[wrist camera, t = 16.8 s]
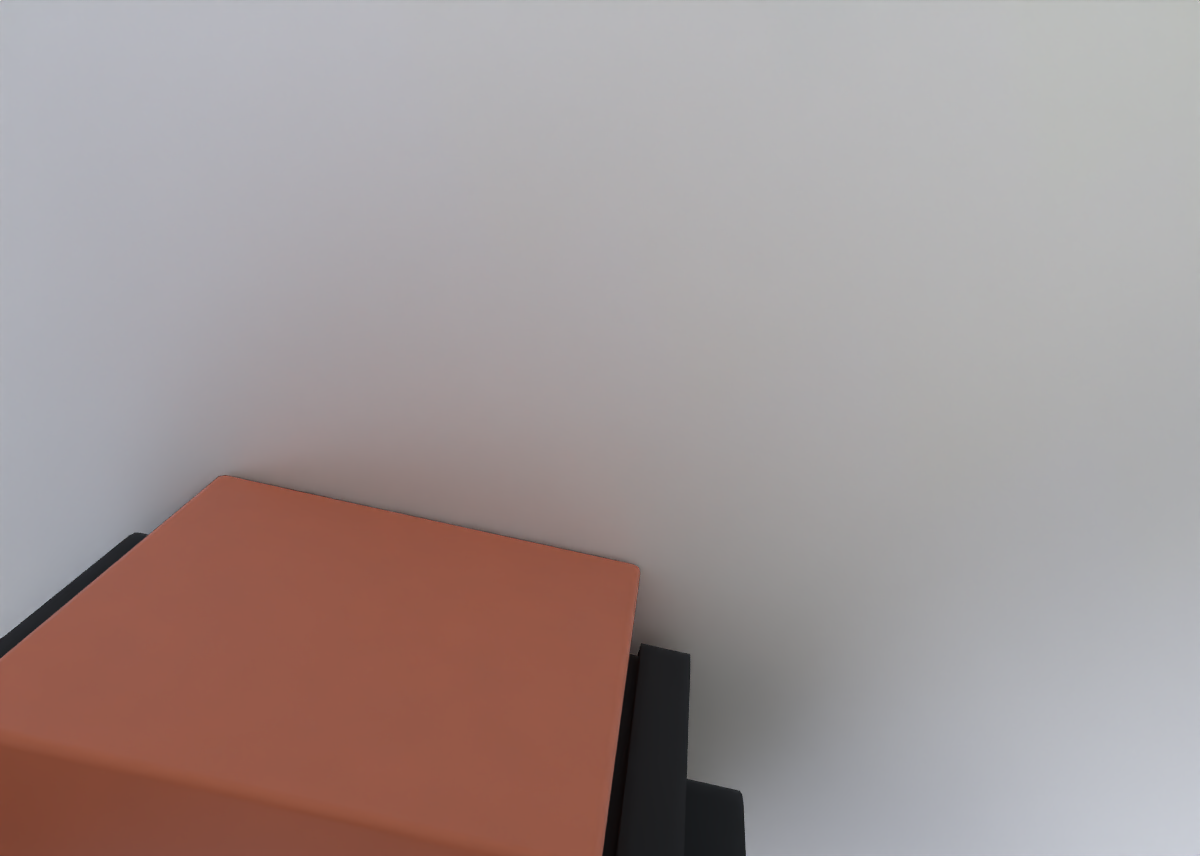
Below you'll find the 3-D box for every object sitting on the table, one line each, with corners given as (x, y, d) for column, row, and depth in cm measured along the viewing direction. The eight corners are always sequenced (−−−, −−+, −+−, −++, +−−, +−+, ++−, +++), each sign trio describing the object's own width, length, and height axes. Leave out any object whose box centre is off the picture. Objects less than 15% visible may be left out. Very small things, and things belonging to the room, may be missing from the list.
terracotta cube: (220, 471, 11) (-80, 718, 7) (642, 563, 11) (601, 872, 7) (192, 818, 13) (-68, 1197, 8) (564, 902, 13) (490, 1331, 8)
